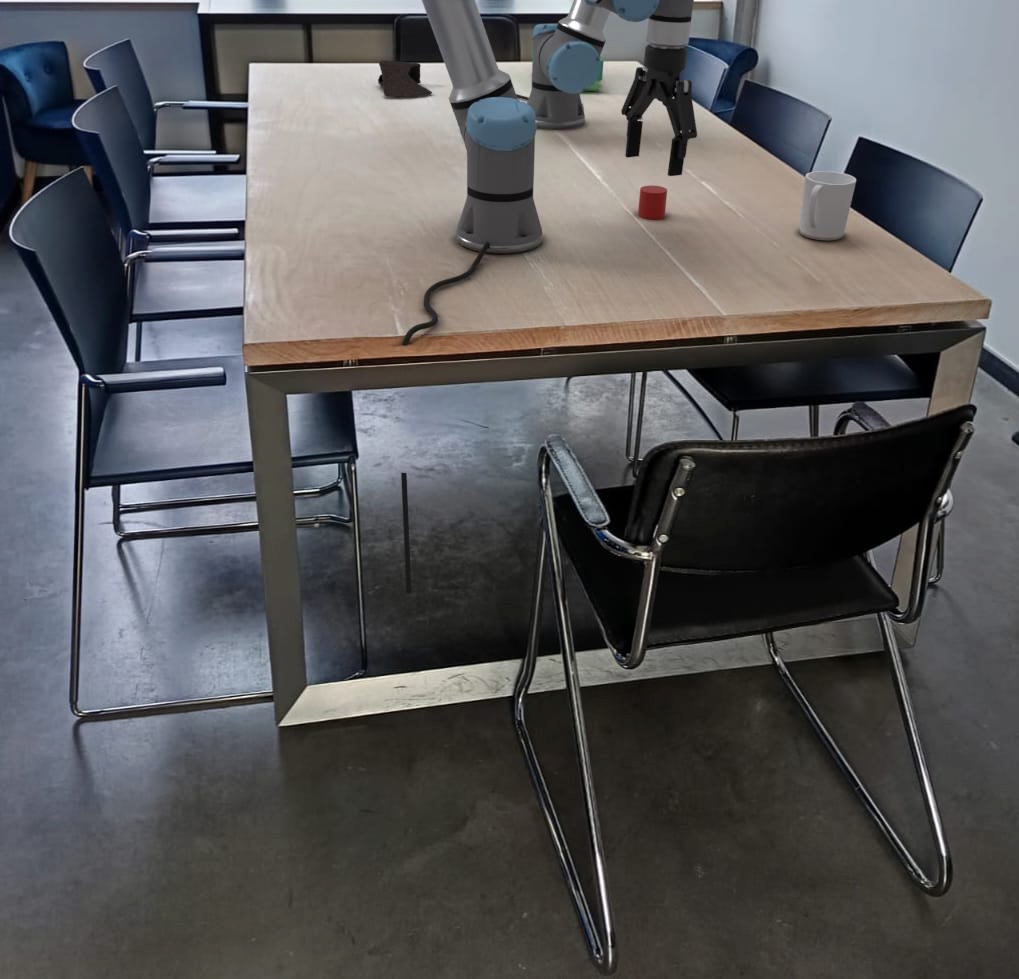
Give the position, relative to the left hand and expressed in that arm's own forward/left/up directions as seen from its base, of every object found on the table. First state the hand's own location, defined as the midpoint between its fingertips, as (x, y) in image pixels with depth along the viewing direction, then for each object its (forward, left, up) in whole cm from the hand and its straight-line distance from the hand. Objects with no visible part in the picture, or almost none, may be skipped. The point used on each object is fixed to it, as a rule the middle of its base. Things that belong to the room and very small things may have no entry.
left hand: (652, 165), depth 205 cm
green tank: (+123, +26, -9) cm, 126 cm away
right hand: (+48, +53, +25) cm, 76 cm away
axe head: (+99, +69, -9) cm, 121 cm away
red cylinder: (0, -1, -9) cm, 9 cm away
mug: (-7, -31, -9) cm, 33 cm away
